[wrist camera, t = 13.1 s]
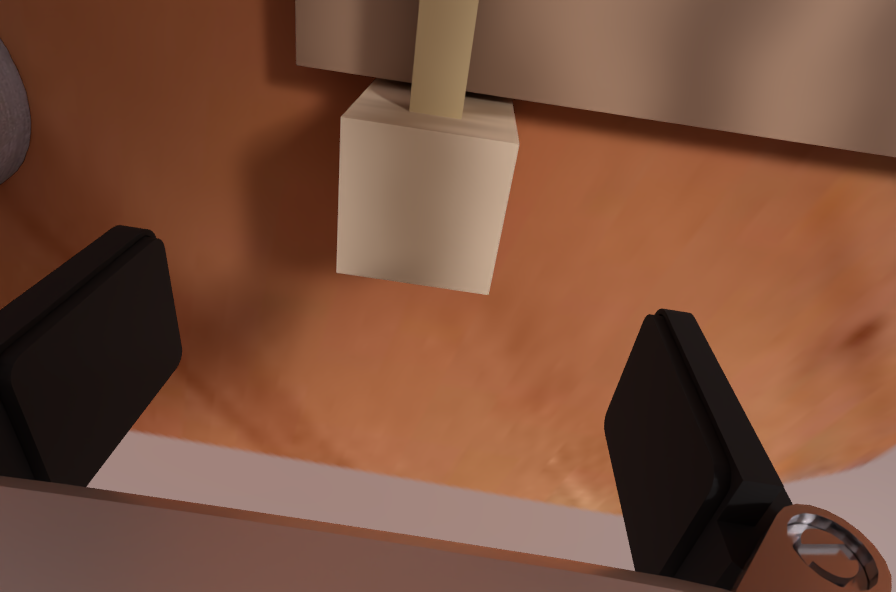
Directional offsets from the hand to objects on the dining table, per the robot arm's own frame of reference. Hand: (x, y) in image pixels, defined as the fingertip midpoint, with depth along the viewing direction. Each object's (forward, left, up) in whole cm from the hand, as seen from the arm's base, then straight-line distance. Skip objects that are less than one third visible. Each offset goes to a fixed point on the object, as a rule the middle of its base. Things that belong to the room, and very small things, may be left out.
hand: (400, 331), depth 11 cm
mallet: (0, -4, -12) cm, 13 cm away
